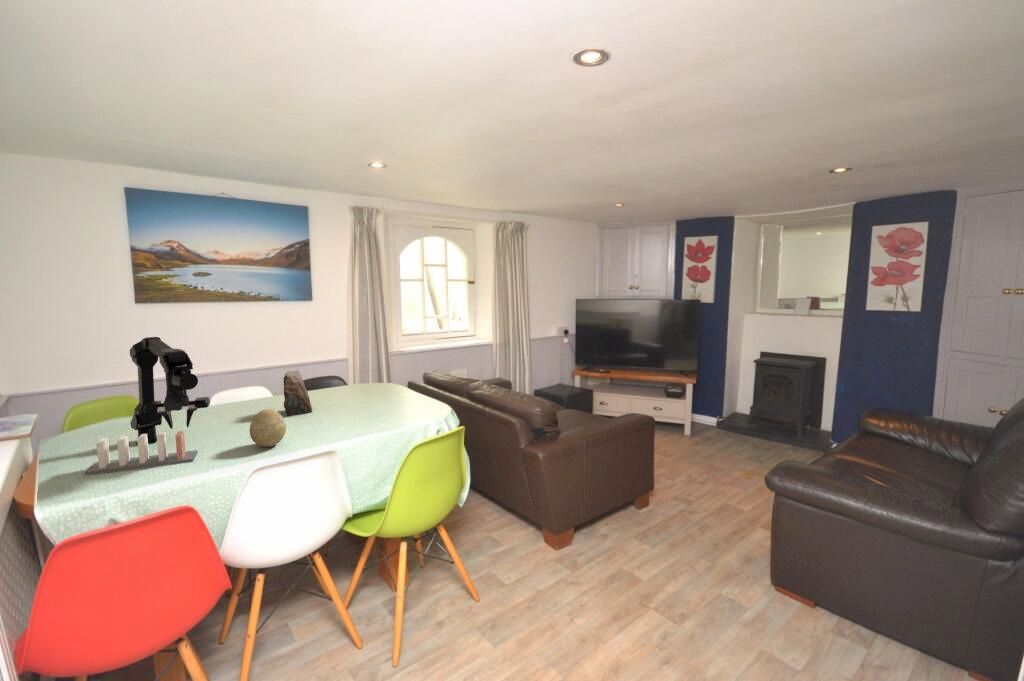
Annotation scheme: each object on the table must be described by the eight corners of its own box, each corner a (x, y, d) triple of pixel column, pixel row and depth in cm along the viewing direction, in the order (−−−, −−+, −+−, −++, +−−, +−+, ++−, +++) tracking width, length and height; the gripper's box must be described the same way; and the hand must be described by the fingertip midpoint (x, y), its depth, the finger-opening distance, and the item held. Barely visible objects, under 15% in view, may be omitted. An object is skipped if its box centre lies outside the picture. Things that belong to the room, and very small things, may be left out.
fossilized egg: (292, 440, 187) (291, 405, 185) (276, 452, 175) (274, 414, 173) (262, 439, 188) (260, 404, 186) (243, 451, 175) (241, 413, 173)
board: (95, 465, 160) (94, 462, 160) (197, 452, 173) (197, 450, 173) (84, 475, 152) (84, 472, 152) (192, 461, 165) (192, 458, 165)
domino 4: (162, 456, 167) (160, 432, 165) (167, 455, 167) (165, 431, 166) (158, 461, 162) (156, 436, 161) (164, 460, 163) (162, 436, 162)
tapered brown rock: (286, 417, 217) (284, 376, 215) (277, 411, 226) (275, 371, 224) (313, 412, 226) (311, 372, 223) (304, 406, 235) (302, 368, 232)
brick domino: (180, 454, 168) (178, 431, 167) (185, 453, 169) (183, 430, 168) (177, 459, 164) (175, 435, 163) (182, 458, 164) (180, 434, 163)
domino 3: (143, 458, 164) (141, 434, 163) (149, 457, 165) (147, 433, 164) (139, 463, 160) (137, 438, 159) (145, 462, 160) (143, 438, 159)
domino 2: (124, 460, 162) (122, 436, 161) (130, 459, 163) (127, 435, 161) (119, 465, 157) (117, 440, 156) (125, 465, 158) (123, 440, 157)
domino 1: (104, 463, 160) (101, 438, 158) (110, 462, 160) (107, 437, 159) (99, 468, 155) (96, 443, 154) (105, 467, 156) (102, 442, 155)
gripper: (136, 393, 152) (140, 438, 154) (203, 388, 160) (206, 431, 162) (146, 385, 162) (150, 428, 164) (208, 381, 170) (211, 422, 172)
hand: (179, 427), depth 165 cm, fingers open, 4 cm apart
